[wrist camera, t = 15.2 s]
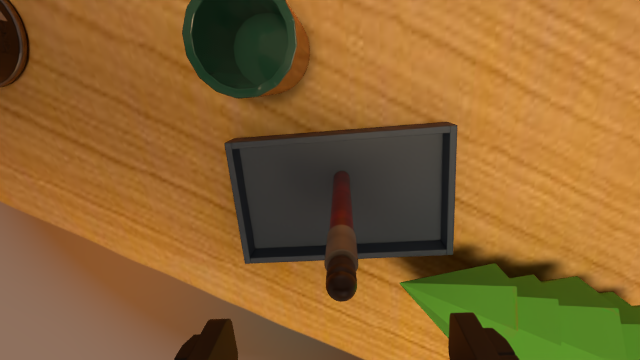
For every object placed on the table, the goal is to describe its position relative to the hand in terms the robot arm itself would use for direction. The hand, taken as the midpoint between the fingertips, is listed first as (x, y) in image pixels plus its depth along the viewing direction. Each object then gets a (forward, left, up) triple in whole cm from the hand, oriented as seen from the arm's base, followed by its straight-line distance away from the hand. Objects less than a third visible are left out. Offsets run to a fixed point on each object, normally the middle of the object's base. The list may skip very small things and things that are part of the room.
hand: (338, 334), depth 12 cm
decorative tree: (+18, -14, -21) cm, 31 cm away
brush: (0, 0, -20) cm, 20 cm away
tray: (0, -1, -21) cm, 21 cm away
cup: (-5, +12, -21) cm, 25 cm away
